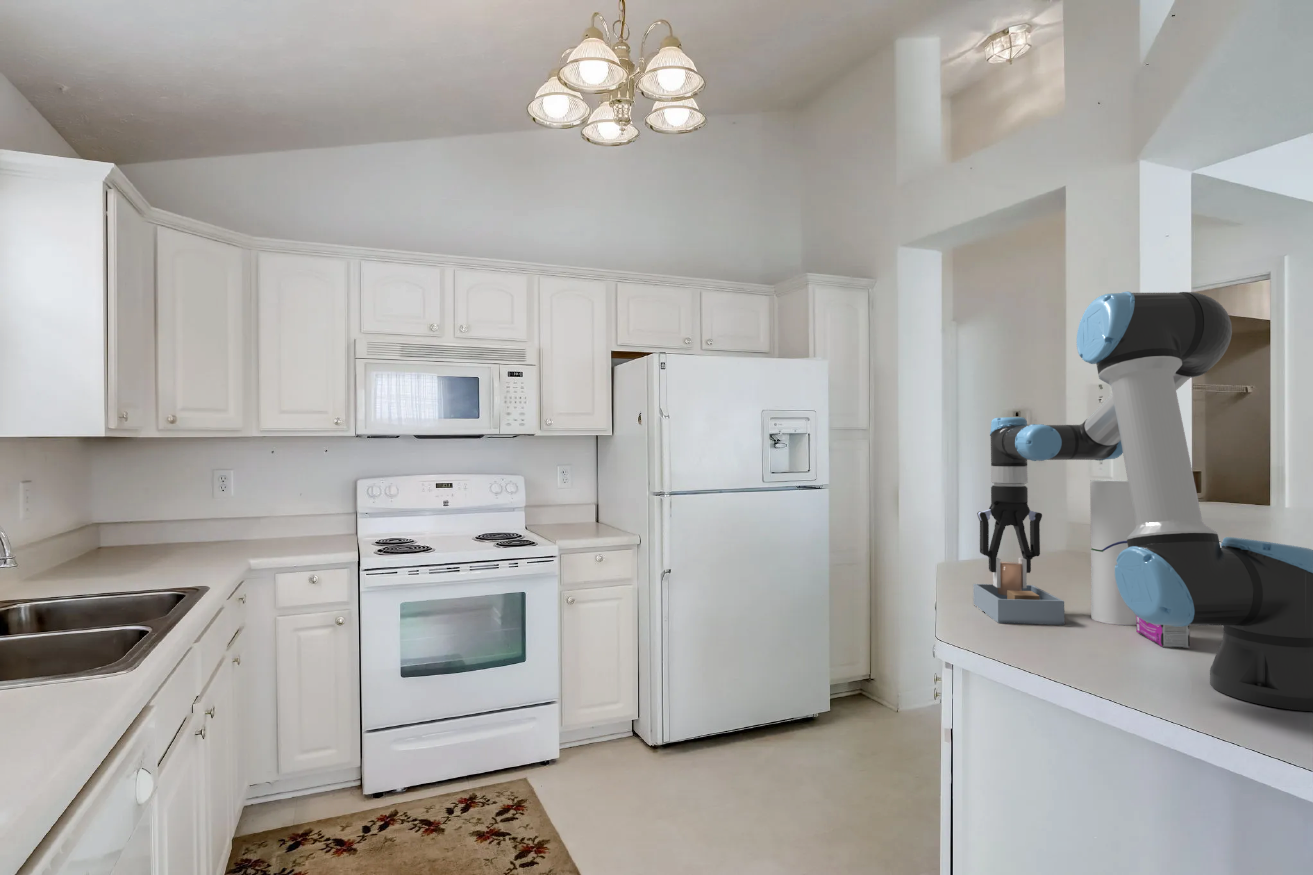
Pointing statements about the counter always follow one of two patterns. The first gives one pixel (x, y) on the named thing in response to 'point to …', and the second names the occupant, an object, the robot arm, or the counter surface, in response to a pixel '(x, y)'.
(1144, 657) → the counter surface
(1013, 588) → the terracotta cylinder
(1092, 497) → the container
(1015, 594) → the walnut cube
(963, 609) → the counter surface
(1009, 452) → the robot arm
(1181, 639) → the candy bar box
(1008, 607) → the tote
